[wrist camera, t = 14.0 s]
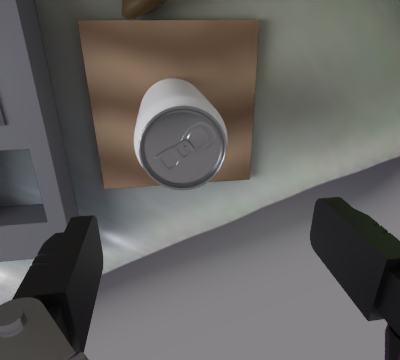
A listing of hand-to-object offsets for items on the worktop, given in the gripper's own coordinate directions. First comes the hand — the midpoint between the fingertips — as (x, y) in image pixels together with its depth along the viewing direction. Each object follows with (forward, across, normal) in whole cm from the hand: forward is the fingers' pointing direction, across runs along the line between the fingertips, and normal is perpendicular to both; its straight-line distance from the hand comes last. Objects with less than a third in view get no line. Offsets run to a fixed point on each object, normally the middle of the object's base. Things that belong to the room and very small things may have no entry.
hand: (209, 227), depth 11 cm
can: (+21, 0, 0) cm, 21 cm away
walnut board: (+22, 0, 0) cm, 22 cm away
